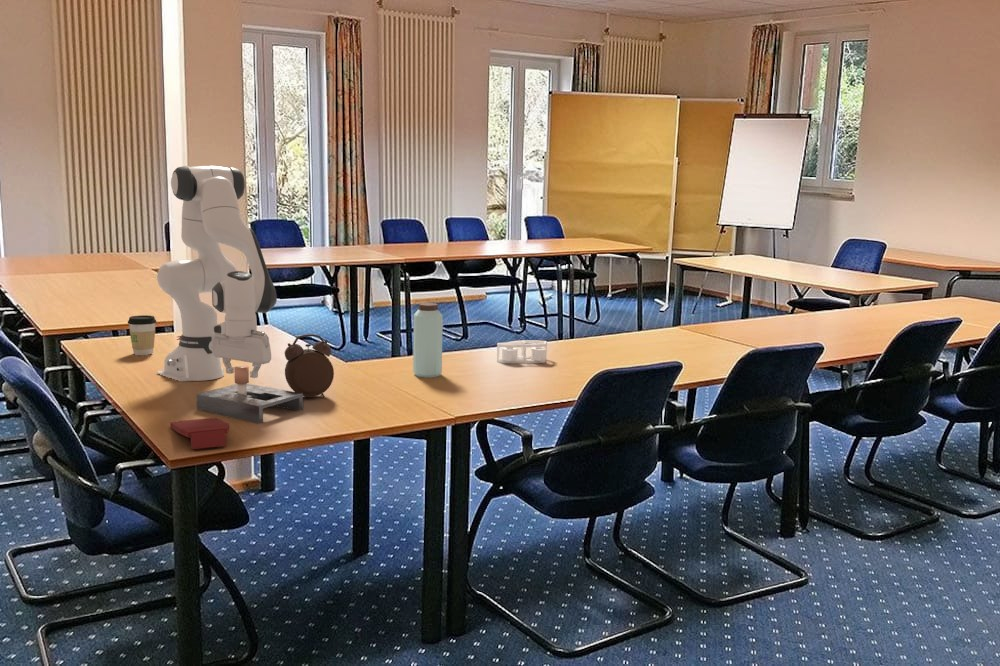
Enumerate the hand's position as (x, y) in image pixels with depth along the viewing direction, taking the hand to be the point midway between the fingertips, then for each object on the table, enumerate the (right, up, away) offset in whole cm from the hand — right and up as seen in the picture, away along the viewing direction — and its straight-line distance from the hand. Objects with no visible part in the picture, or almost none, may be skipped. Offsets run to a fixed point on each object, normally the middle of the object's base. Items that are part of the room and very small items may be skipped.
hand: (241, 375), depth 269 cm
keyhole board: (+2, -10, 0) cm, 11 cm away
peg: (0, -10, +2) cm, 10 cm away
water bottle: (+50, -3, +52) cm, 72 cm away
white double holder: (+84, +1, +80) cm, 116 cm away
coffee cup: (-55, +3, +69) cm, 88 cm away
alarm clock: (+16, -8, +17) cm, 24 cm away
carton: (-9, -14, -15) cm, 23 cm away
